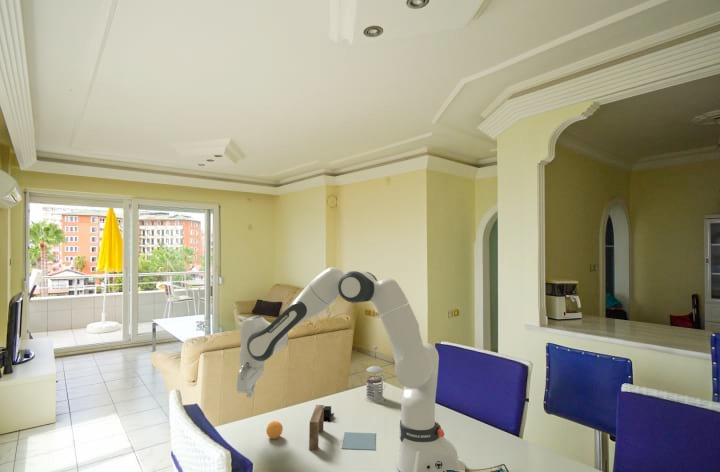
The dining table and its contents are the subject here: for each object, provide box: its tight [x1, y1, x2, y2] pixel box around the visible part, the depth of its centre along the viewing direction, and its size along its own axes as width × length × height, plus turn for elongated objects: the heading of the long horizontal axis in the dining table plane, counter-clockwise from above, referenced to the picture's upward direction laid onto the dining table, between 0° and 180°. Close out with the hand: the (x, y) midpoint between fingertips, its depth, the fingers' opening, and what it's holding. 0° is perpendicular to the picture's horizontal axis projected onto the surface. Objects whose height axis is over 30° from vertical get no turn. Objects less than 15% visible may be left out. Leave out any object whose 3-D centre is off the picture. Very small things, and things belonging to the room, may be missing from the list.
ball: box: [265, 420, 284, 439], centre depth 143 cm, size 6×6×6 cm
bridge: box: [308, 404, 325, 451], centre depth 143 cm, size 3×15×10 cm, turn 178°
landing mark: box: [341, 431, 376, 451], centre depth 142 cm, size 12×12×1 cm
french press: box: [363, 345, 386, 404], centre depth 182 cm, size 10×12×25 cm
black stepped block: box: [324, 405, 335, 423], centre depth 161 cm, size 12×7×5 cm, turn 175°
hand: (250, 396), depth 144 cm, fingers closed
